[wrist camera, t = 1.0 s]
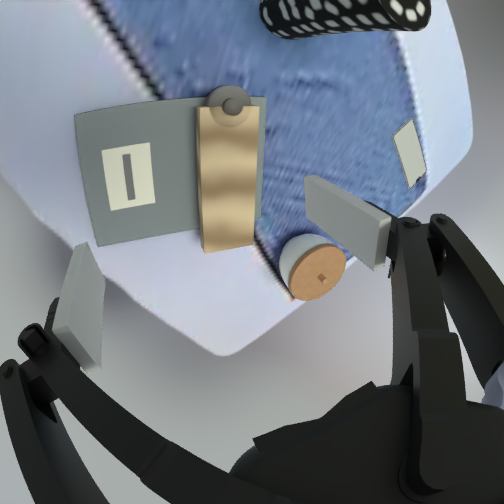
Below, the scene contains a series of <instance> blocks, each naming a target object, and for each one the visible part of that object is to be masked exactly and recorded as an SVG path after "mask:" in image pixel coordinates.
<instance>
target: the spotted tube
mask: <svg viewBox="0 0 504 504" xmlns="http://www.w3.org/2000/svg"><path fill="white" fill-rule="evenodd" d="M259 10H260V16H261V19H262V21H263V23H264V25H265V26H266V27H267V29H268V30H269V31H271V32H272V33H273V34H275V35H276V36H279V37H281V38H284V39H299V38H306V37H312V36H319V35H327V34H337V33H348V32H363V31H420V30H422V29H424V28H425V27H426V26H427V24H428V22H429V20H430V16H431V1H430V0H262V1H261V3H260V8H259Z"/></svg>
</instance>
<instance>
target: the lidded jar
mask: <svg viewBox="0 0 504 504" xmlns="http://www.w3.org/2000/svg"><path fill="white" fill-rule="evenodd" d="M345 265H346V258H345V254H344V252H343V251H342V250H341V249H340V248H339V247H337V246H336V245H334V244H333V243H332V242H331V241H329V240H328V239H326V238H324V237H322V236H320V235H316V234H302V235H299V236H295V237H293V238H292V239H290V240H289V241H288V242H287V243H286V244H285V246H284V247H283V249H282V253H281V256H280V260H279V268H280V273H281V276H282V278H283V280H284V282H285V284H286V285H287V287H288V288H289V290H290V292H291V293H292V295H293V296H294V297H295V298H297V299H299V300H303V301H309V300H313V299H317V298H319V297H321V296H323V295H324V294H326V293H327V292H329V291H330V290H331V289H332V288H333V287H334V286H335V285H336V284H337V283H338V281H339V280H340V278H341V277H342V275H343V272H344V270H345Z"/></svg>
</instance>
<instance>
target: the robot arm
mask: <svg viewBox="0 0 504 504" xmlns="http://www.w3.org/2000/svg"><path fill="white" fill-rule="evenodd" d="M304 187H305V205H306V217H307V218H308V219H309V220H311V221H312V222H313V223H314V224H316V225H317V226H318V227H320V228H321V229H322V230H323V231H325V232H326V233H327V234H328V235H330V236H331V237H332V238H333V239H335V240H336V241H337V242H338V243H340V244H341V245H342V246H343V247H345V248H346V249H347V250H348V251H349V252H351V253H352V254H353V255H354V256H356V257H357V258H358V259H359V260H360V261H362V262H363V263H364V264H366V266H367V267H369V268H370V269H371V270H372V271H375V270H377V269H380V268H382V267H384V266H385V260H386V256H387V257H389V258H390V259H391V264H390V269H389V274H388V278H390V276H391V286H392V304H393V368H392V380H391V383H390V385H384V386H379V387H376V386H375V385H374V383H373V382H372V381H371V382H369V383H367V384H366V385H364V386H362V387H361V388H359V389H357V390H355V391H354V392H352V393H350V394H348V395H346V396H345V397H344V398H343V399H342V400H341V401H340V402H339V403H337V404H336V405H335V406H334V407H333V408H332V409H331V410H330V411H328V412H327V413H326V414H325V415H324V416H323V417H321V418H319V419H315V420H311V421H306V422H302V423H297V424H292V425H286V426H283V427H281V428H278V429H276V430H273V431H271V432H269V433H266V434H263V435H261V436H258V437H256V438H253V441H254V443H255V446H253V447H252V448H250V449H249V450H247V451H246V452H245V453H244V454H243V455H242V456H241V457H240V458H239V459H238V460H237V461H236V463H235V464H234V466H233V467H232V469H231V471H230V472H229V473H227V472H225V471H223V470H221V469H219V468H217V467H215V466H213V465H211V464H210V463H208V462H206V461H204V460H202V459H201V458H199V457H197V456H195V455H194V454H192V453H190V452H188V451H187V450H185V449H184V448H182V447H180V446H179V445H177V444H175V443H173V442H171V441H169V440H167V439H165V438H164V437H162V436H161V435H159V434H158V433H157V432H155V431H153V430H152V429H151V428H149V427H148V426H146V425H145V424H144V423H142V422H141V421H140V420H138V419H137V418H136V417H134V416H133V415H132V414H131V413H129V412H128V411H127V410H125V409H124V408H123V407H122V406H120V405H119V404H118V403H117V402H115V401H114V400H113V399H112V398H111V397H110V396H108V395H107V394H106V393H105V392H104V391H103V390H102V389H100V388H99V387H98V386H97V385H96V384H95V383H94V382H93V381H91V380H90V379H89V378H88V377H87V376H86V375H85V374H84V373H83V372H82V371H81V370H80V366H81V367H82V368H83V369H84V371H85V372H86V373H91V372H94V371H98V370H101V346H102V319H103V304H104V291H105V279H104V277H103V275H102V273H101V271H100V269H99V267H98V265H97V263H96V260H95V258H94V256H93V254H92V252H91V250H90V247H89V245H88V243H87V242H85V243H82V244H80V245H77V246H75V249H74V252H73V255H72V258H71V261H70V264H69V267H68V271H67V274H66V277H65V280H64V284H63V287H62V291H61V295H60V297H58V298H55V299H54V301H53V302H52V304H51V305H50V308H49V311H48V316H47V319H46V323H45V327H44V329H43V328H42V327H41V325H40V324H38V323H33V324H31V325H28V326H27V327H26V328H25V329H24V330H23V331H22V332H21V334H20V335H19V337H18V346H19V347H20V348H21V349H22V351H23V352H24V353H25V354H26V355H27V356H28V357H29V360H27V361H25V362H24V363H22V364H21V365H19V364H18V363H17V362H16V360H14V359H9V360H7V361H5V362H4V363H3V364H2V365H1V366H0V395H1V401H2V405H3V410H4V415H5V419H6V423H7V427H8V431H9V435H10V438H11V442H12V445H13V448H14V451H15V454H16V457H17V460H18V463H19V466H20V469H21V471H22V474H23V477H24V479H25V481H26V484H27V486H28V489H29V491H30V493H31V495H32V498H33V500H34V502H35V504H110V503H109V502H108V501H107V499H106V498H105V497H104V495H103V493H102V492H101V490H100V489H99V487H98V486H97V484H96V483H95V481H94V480H93V478H92V477H91V475H90V473H89V472H88V470H87V468H86V467H85V465H84V463H83V462H82V460H81V458H80V456H79V454H78V452H77V451H76V449H75V447H74V445H73V443H72V441H71V439H70V437H69V435H68V433H67V431H66V429H65V427H64V425H63V423H62V420H61V418H60V416H59V413H58V411H57V409H56V406H55V404H54V402H53V401H54V400H56V399H58V398H59V399H60V400H61V401H62V402H63V404H64V405H65V406H66V407H67V408H68V409H69V411H70V412H71V413H72V414H73V415H74V416H75V417H76V418H77V420H78V421H79V422H80V423H81V424H82V425H83V426H84V427H85V428H86V429H87V430H88V431H89V432H90V433H91V434H92V435H93V436H94V437H95V438H96V439H97V440H98V441H99V442H100V443H101V444H102V445H103V446H104V447H105V448H106V449H107V450H108V451H109V452H110V453H112V455H114V456H115V457H116V458H117V459H118V460H119V461H120V462H122V463H123V464H124V465H125V466H126V467H127V468H129V469H130V470H131V471H132V472H134V473H135V474H136V475H137V476H138V477H139V478H140V480H141V482H142V483H143V484H144V485H146V486H147V487H148V488H149V489H151V490H152V491H153V492H155V493H156V494H158V495H159V496H160V497H162V498H163V499H165V500H166V501H168V502H169V503H171V504H504V285H503V283H502V282H501V281H500V279H499V277H498V276H497V275H496V273H495V272H494V270H493V269H492V268H491V266H490V265H489V264H488V262H487V261H486V260H485V259H484V257H483V256H482V255H481V253H480V252H479V251H478V250H477V249H476V247H475V246H474V245H473V243H472V242H471V241H470V240H469V239H468V237H467V236H466V235H465V234H464V233H463V232H462V230H461V229H460V228H459V227H458V226H457V225H456V224H455V222H454V221H453V220H452V219H451V218H449V217H448V216H446V215H444V214H433V215H432V216H431V218H430V223H428V224H421V222H420V221H418V220H417V219H414V218H411V217H401V218H397V217H395V216H394V215H392V214H390V213H388V212H387V211H385V210H383V209H382V208H380V207H378V206H376V205H375V204H373V203H371V202H368V201H364V200H361V199H360V198H358V197H356V196H354V195H352V194H351V193H349V192H347V191H345V190H343V189H341V188H339V187H337V186H336V185H334V184H332V183H330V182H328V181H326V180H324V179H322V178H320V177H318V176H316V175H311V176H306V177H304ZM445 255H446V256H445ZM443 301H444V302H443ZM444 303H445V305H446V307H447V309H448V311H449V313H450V315H451V317H452V319H453V322H454V324H455V326H456V328H457V330H458V332H459V335H460V337H461V339H462V342H463V344H464V346H465V349H466V351H467V353H468V356H469V359H470V361H471V364H472V367H473V369H474V371H475V374H476V375H477V378H478V380H479V382H480V384H481V386H482V387H483V389H484V391H485V396H484V397H483V399H482V403H477V402H471V401H467V400H466V391H465V380H464V371H463V363H462V356H461V349H460V343H459V338H458V335H457V334H456V333H452V332H449V327H448V322H447V317H446V312H445V306H444Z"/></svg>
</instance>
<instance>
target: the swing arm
mask: <svg viewBox="0 0 504 504" xmlns="http://www.w3.org/2000/svg"><path fill="white" fill-rule="evenodd" d="M259 107H260V106H255V105H251V99H250V97H249V95H248V93H247V92H246V91H245V90H243V89H242V88H240V87H238V86H232V85H225V86H219V87H217V88H215V89H213V90H212V91H211V92H210V93H209V95H208V96H207V98H206V101H205V106H197V107H196V134H197V174H198V198H199V218H200V235H201V247H202V249H203V251H204V253H205V254H206V253H212V252H217V251H222V250H228V249H233V248H238V247H244V246H249V245H253V236H254V214H255V193H256V171H257V150H258V128H259Z"/></svg>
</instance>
